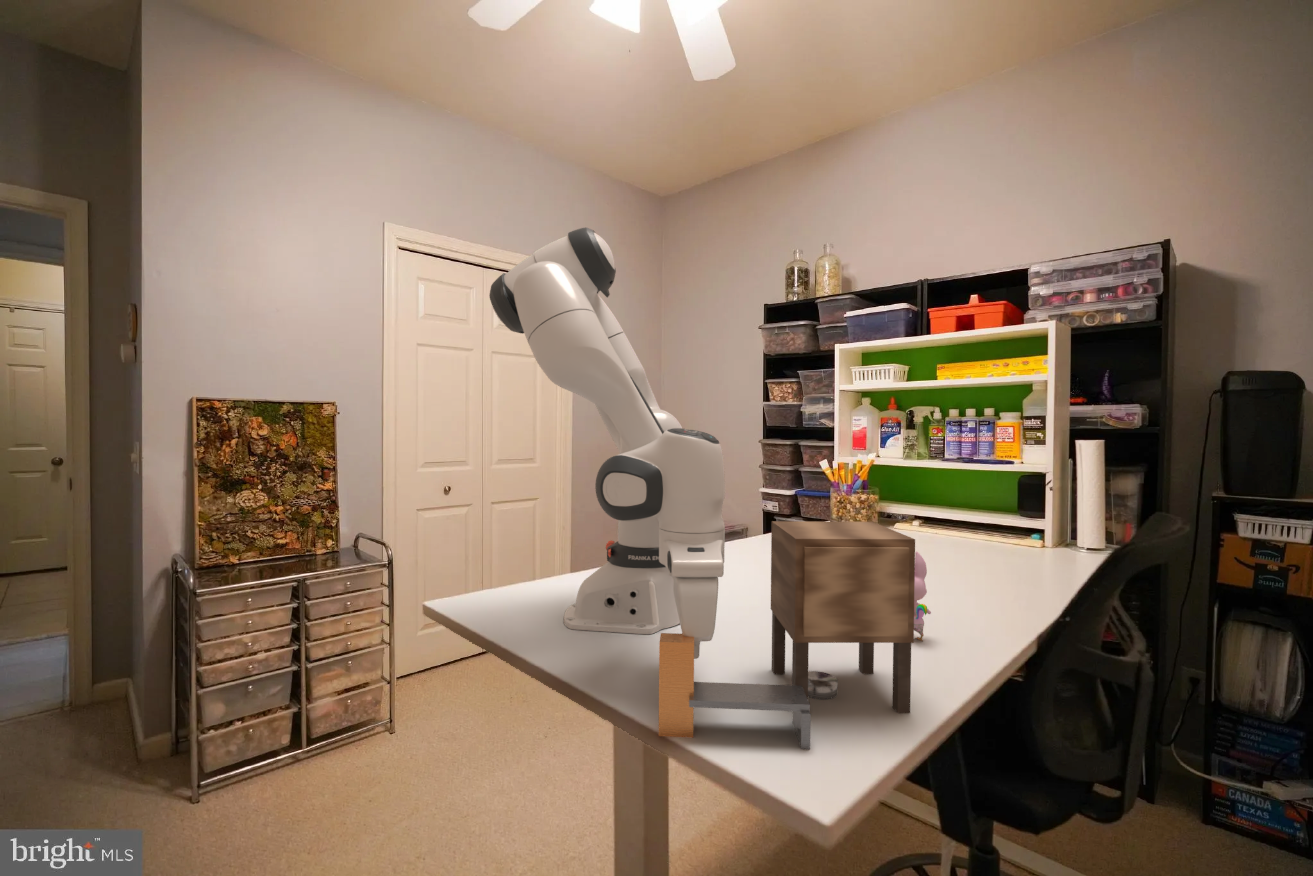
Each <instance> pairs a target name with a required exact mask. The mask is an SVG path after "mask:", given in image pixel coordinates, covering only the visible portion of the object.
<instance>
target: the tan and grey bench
mask: <svg viewBox="0 0 1313 876" xmlns="http://www.w3.org/2000/svg"><path fill="white" fill-rule="evenodd" d="M658 649H659V651H658V652H659V654H658V655H659V658H658V659H659V660H658V662H659V663H658V670H659V671H658V737H670V738H694V708H697V709H698V708H701V709H724V710H725V709H728V710H749V711H750V710H751V711H755V710H756V711H774V712H775V711H779V712H792V715H791V716H792V721H791V723H792V726H793V728H794V732H795V735H796V738H797V740H798V744H799V747H800V749H801V750H809V751H810V750H811V719H812V718H811V704H810V702H809V698H808V699H807V697H806V694H805V692H804V689H803V687H802V686H796V685H792V684H790V685H789V684H764V683H761V684H760V683H739V682H738V683H733V682H712V681H711V682H710V681H708V682H706V681H704V682H703V681H695V659H694V637H687V636H684V635H683V634H682V633H675V632H674V633H671V632H670V633H669V632H661V633H660V637H659V647H658Z"/></svg>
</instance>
